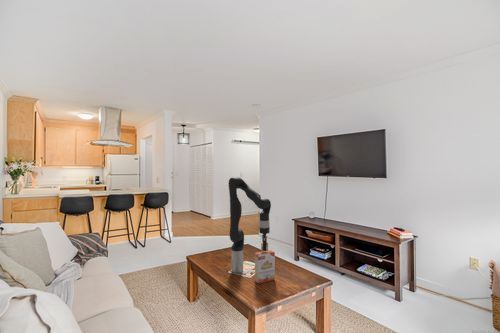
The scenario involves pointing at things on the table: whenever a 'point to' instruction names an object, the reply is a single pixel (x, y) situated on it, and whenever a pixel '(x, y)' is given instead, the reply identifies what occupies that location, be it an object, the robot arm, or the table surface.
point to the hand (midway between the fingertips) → (264, 249)
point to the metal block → (266, 246)
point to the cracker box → (264, 266)
